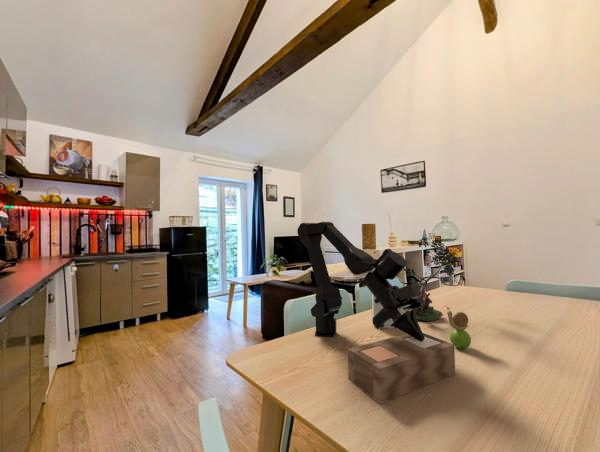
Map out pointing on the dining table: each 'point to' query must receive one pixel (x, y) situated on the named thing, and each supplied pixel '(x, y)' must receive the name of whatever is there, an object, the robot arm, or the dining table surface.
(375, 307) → the supplement box
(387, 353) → the salmon pink block
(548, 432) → the dining table surface
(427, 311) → the bonsai tree
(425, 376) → the brown striped box
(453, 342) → the snail figurine
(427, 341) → the white box
